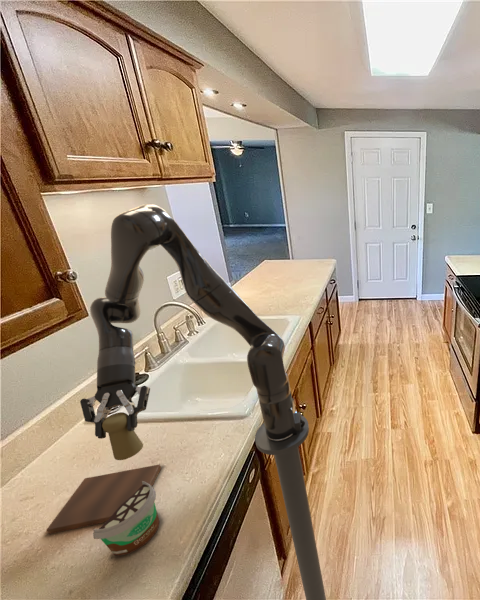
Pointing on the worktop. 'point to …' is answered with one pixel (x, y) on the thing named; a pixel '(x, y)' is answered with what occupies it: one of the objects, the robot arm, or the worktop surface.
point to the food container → (131, 523)
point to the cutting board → (101, 498)
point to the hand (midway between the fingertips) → (116, 434)
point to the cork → (121, 436)
